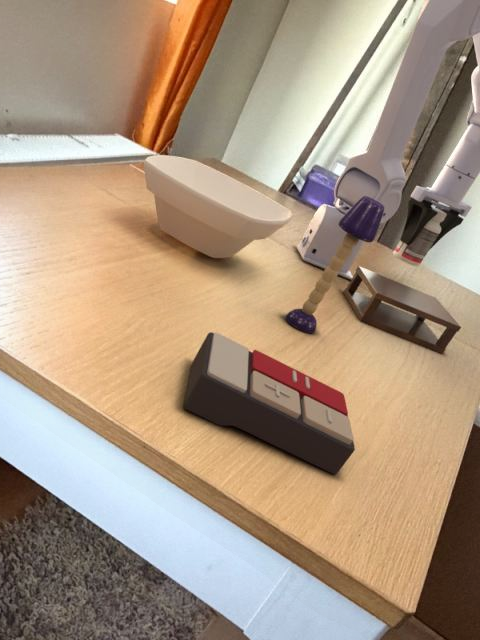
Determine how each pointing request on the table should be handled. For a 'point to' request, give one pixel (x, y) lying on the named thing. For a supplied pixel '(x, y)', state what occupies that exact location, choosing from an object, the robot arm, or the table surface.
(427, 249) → the pill bottle
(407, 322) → the rack
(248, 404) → the calculator
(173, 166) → the bowl
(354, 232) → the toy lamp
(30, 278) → the table surface
